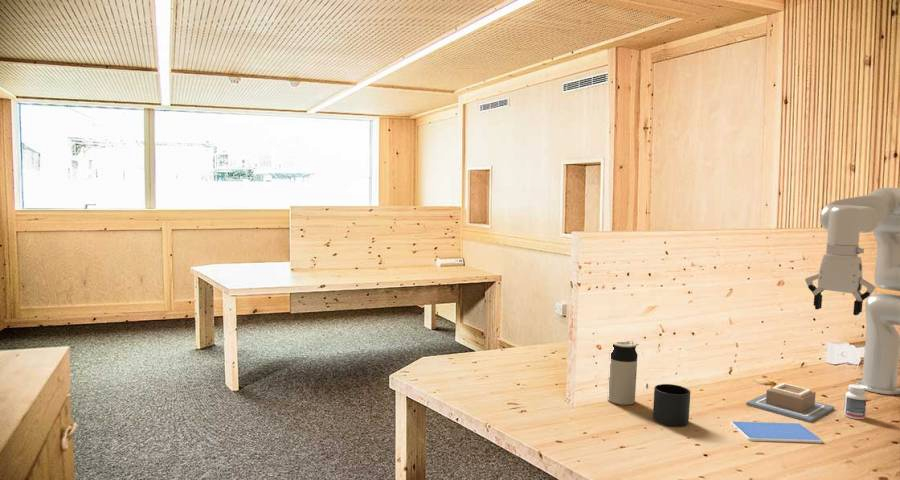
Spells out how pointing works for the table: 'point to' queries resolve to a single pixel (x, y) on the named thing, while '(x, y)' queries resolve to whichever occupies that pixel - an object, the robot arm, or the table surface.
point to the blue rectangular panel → (775, 432)
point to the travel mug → (623, 373)
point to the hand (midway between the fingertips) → (836, 311)
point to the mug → (671, 405)
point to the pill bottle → (855, 402)
